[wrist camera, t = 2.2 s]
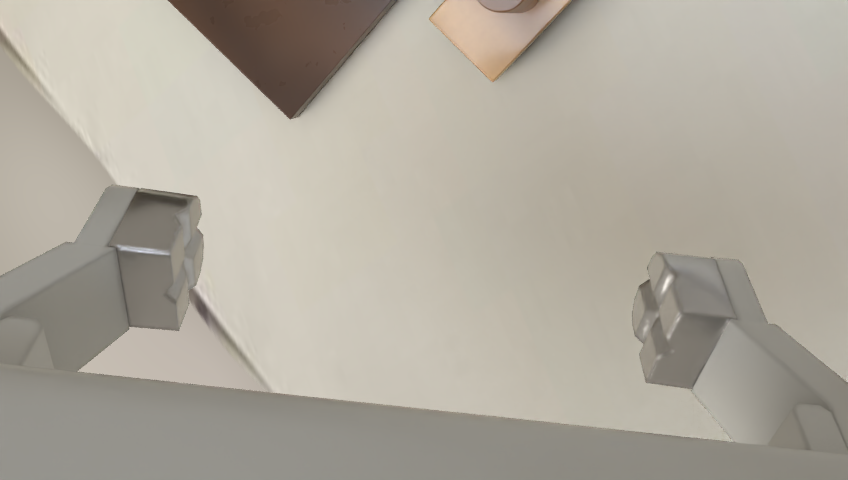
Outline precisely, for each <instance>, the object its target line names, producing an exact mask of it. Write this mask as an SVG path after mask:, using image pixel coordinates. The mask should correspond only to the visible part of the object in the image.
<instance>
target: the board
mask: <svg viewBox="0 0 848 480" xmlns="http://www.w3.org/2000/svg"><path fill="white" fill-rule="evenodd" d="M168 1H169V2H170V3H171V4H172V5H173V6H174V7H175V8H176V9H177V10H178V11H179V12H180V13H181V14H182V15H183V16H184V17H185V18H186V19H188V20H189V21H190V22H191V23H192V24H193V25H194V26H195V27H196V28H197V29H198V30H199V31H200V32H201V33H202V34H203V35H204V36H205V37H206V38H207V39H208V40H209V41H210V42H211V43H212V44H213V45H214V46H215V47H216V48H217V49H218V50H219V51H220V52H221V53H222V54H223V55H224V56H225V57H226V58H228V59H229V60H230V61H231V62H232V63H233V64H234V65H235V66H236V67H237V68H238V69H239V70H240V71H241V72H242V73H243V74H244V75H245V76H246V77H247V78H248V79H249V80H250V81H251V82H252V83H253V84H254V85H255V86H256V87H257V88H258V89H259V90H260V91H261V92H262V93H263V94H264V95H265V96H267V97H268V98H269V99H270V100H271V101H272V102H273V103H274V104H275V105H276V106H277V107H278V108H279V109H280V110H281V111H282V112H283V113H284V114H285V115H286V116H287V117H288V118H289V119H293V118H296V117H298V116H299V114H300V113H301V112H302V111H303V110H304V109H305V107H306V106H307V105H308V104H309V103H310V102H311V100H312V99H313V98H314V97H315V96H316V95H317V93H318V92H319V91H320V90H321V89H322V88H323V86H324V85H325V84H326V83H327V82H328V81H329V79H330V78H331V77H332V76H333V75H334V73H335V72H336V71H337V70H338V69H339V68H340V66H341V65H342V64H343V63H344V62H345V61H346V59H347V58H348V57H349V56H350V55H351V54H352V52H353V51H354V50H355V49H356V48H357V47H358V45H359V44H360V43H361V42H362V41H363V39H364V38H365V37H366V36H367V35H368V34H369V32H370V31H371V30H372V29H373V28H374V27H375V25H376V24H377V23H378V22H379V21H380V20H381V18H382V17H383V16H384V15H385V14H386V13H387V11H388V10H389V9H390V8H391V7H392V6H393V4H394V3H395V2H396V1H397V0H168Z"/></svg>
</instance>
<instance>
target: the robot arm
mask: <svg viewBox="0 0 848 480" xmlns="http://www.w3.org/2000/svg"><path fill="white" fill-rule="evenodd" d="M201 215H202V213H201V204H200V199H199V198H198V197H197V196H193V195H186V194H179V193H172V192H165V191H158V190H151V189H144V188H141V189H139V188H134V187H127V186H120V185H111V186H109V187H107V188H106V189H105V191H104V192H103V194H102V196H101V198H100V199H99V201H98V203H97V204H96V206H95V208H94V210H93V211H92V213H91V215H90V216H89V218H88V220H87V222H86V223H85V225H84V227H83V229H82V230H81V232H80V234H79V235H78V237H77V239H76V241H75V242H74V243H72V242H65V243H63V244H61V245H59V246H57V247H55V248H53V249H51V250H49V251H47V252H46V253H44V254H42V255H40V256H38V257H36V258H34V259H32V260H30V261H28V262H26V263H24V264H22V265H21V266H19V267H17V268H15V269H13V270H11V271H9V272H7V273H5V274H3V275H1V276H0V480H848V383H847V382H846V381H845V380H844V379H842V378H841V377H840V376H839V375H837V374H836V373H835V372H834V371H832V370H831V369H830V368H829V367H828V366H826V365H825V364H824V363H823V362H821V361H820V360H819V359H818V358H817V357H815V356H814V355H813V354H812V353H810V352H809V351H808V350H807V349H805V348H804V347H803V346H802V345H801V344H799V343H798V342H797V341H796V340H794V339H793V338H792V337H791V336H789V335H788V334H787V333H786V332H785V331H783V330H782V329H781V328H780V327H778V326H777V325H776V324H768V322H767V320H766V317H765V315H764V313H763V310H762V308H761V306H760V303H759V301H758V299H757V296H756V294H755V291H754V289H753V287H752V284H751V282H750V280H749V277H748V275H747V273H746V270H745V268H744V265H743V264H742V263H741V262H740V261H739V260H734V259H724V258H714V257H711V258H707V257H698V256H689V255H681V254H672V253H663V252H656V253H655V254H654V255H653V256H652V258H651V260H650V262H649V264H648V267H647V270H648V274H649V278H650V279H649V280H647V281H646V282H644V283H643V284H641V285H640V286H639V288H638V291H637V293H636V296H635V299H634V304H633V311H632V324H633V329H634V334H635V336H636V337H637V338H638V339H639V340H640V341H641V342H642V343H643V347H642V349H641V351H640V353H639V356H640V360H641V364H642V369H643V373H644V377H645V381H646V383H651V384H659V385H666V386H673V387H681V388H688V389H692V390H691V391H692V393H693V394H694V395H695V396H696V397H697V399H698V400H699V401H700V402H701V403H702V405H703V406H704V407H705V408H706V409H707V410H708V412H709V413H710V414H711V415H712V416H713V418H714V419H715V420H716V421H717V422H718V424H719V425H720V426H721V427H722V428H723V430H724V431H725V432H726V433H727V434H728V436H729V437H730V438H731V439H732V440H733V442H729V441H719V440H710V439H700V438H690V437H681V436H671V435H662V434H652V433H643V432H634V431H625V430H615V429H606V428H597V427H588V426H579V425H569V424H560V423H551V422H542V421H533V420H523V419H514V418H505V417H496V416H486V415H477V414H467V413H458V412H449V411H439V410H430V409H420V408H411V407H401V406H392V405H383V404H373V403H364V402H354V401H345V400H335V399H326V398H317V397H307V396H298V395H289V394H280V393H270V392H261V391H251V390H242V389H233V388H224V387H214V386H205V385H196V384H187V383H177V382H168V381H159V380H150V379H140V378H131V377H122V376H112V375H102V374H94V373H84V372H77V371H78V370H79V369H81V368H82V367H83V366H84V365H86V364H87V363H88V362H89V361H91V360H92V359H93V358H94V357H96V356H97V355H98V354H99V353H101V352H102V351H103V350H104V349H105V348H107V347H108V346H109V345H110V344H112V343H113V342H114V341H115V340H117V339H118V338H119V337H120V336H122V335H123V334H124V333H125V332H127V331H128V330H129V327H139V328H151V329H163V330H175V331H179V329H180V327H181V324H182V321H183V319H184V316H185V314H186V311H187V308H188V305H189V294H188V290H190V289H191V288H193V287H194V286H196V284H197V281H198V278H199V275H200V272H201V266H202V261H203V249H204V242H203V234H202V233H201V232H200V230H199V229H198V228H197V225H198V223H199V220H200V218H201Z"/></svg>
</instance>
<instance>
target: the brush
mask: <svg viewBox="0 0 848 480" xmlns="http://www.w3.org/2000/svg"><path fill="white" fill-rule="evenodd" d="M571 1H572V0H445V1H444V2H443V3H442V4H441V5H440V6H439V7H438V9H437V10H436V11H435V12H434V13H433V14H432V15H431V17H430V18H429V20H430V21H431V22H432V23H433V24H434V25H435V26H436V27H437V28H438V29H439V30H440V31H441V32H442V33H443V34H444V35H445V36H446V37H447V38H448V39H449V40H450V41H451V42H452V43H453V44H454V45H455V46H456V47H457V48H458V49H459V50H460V51H461V52H462V53H463V54H464V55H465V56H466V57H467V58H468V59H469V60H470V61H471V62H472V63H473V64H474V65H475V66H476V67H477V68H478V69H479V70H480V71H481V72H482V73H483V74H484V75H485V76H486V77H487V78H488V79H489V80H490V81H492V82H494V81H496V80H497V79H498V78H499V77H500V76H501V75H502V74H503V73H504V72H505V71H506V70H507V69H508V68H509V67H510V65H511V64H512V63H513V62H514V61H515V60H516V59H517V58H518V57H519V56H520V55H521V54H522V53H523V52H524V51H525V50H526V49H527V48H528V47H529V46H530V44H531V43H532V42H533V41H534V40H535V39H536V38H537V37H538V36H539V35H540V34H541V33H542V32H543V31H544V30H545V29H546V28H547V27H548V26H549V24H550V23H551V22H552V21H553V20H554V19H555V18H556V17H557V16H558V15H559V14H560V13H561V12H562V11H563V10H564V9H565V8H566V7H567V6H568V5H569V3H570V2H571Z"/></svg>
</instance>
